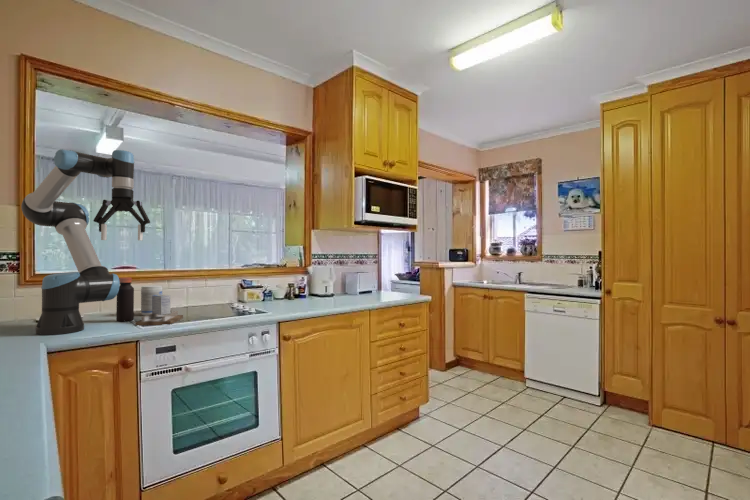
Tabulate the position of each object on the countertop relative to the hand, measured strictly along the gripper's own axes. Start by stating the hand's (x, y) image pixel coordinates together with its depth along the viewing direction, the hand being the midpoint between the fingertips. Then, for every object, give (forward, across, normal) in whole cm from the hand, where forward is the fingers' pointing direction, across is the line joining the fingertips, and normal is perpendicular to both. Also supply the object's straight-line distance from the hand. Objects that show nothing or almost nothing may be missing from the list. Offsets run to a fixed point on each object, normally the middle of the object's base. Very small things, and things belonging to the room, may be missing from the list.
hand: (122, 240), depth 160 cm
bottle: (+37, +8, -23) cm, 44 cm away
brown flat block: (+37, -9, -18) cm, 42 cm away
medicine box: (+33, -9, -18) cm, 39 cm away
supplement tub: (+37, +3, -41) cm, 55 cm away
